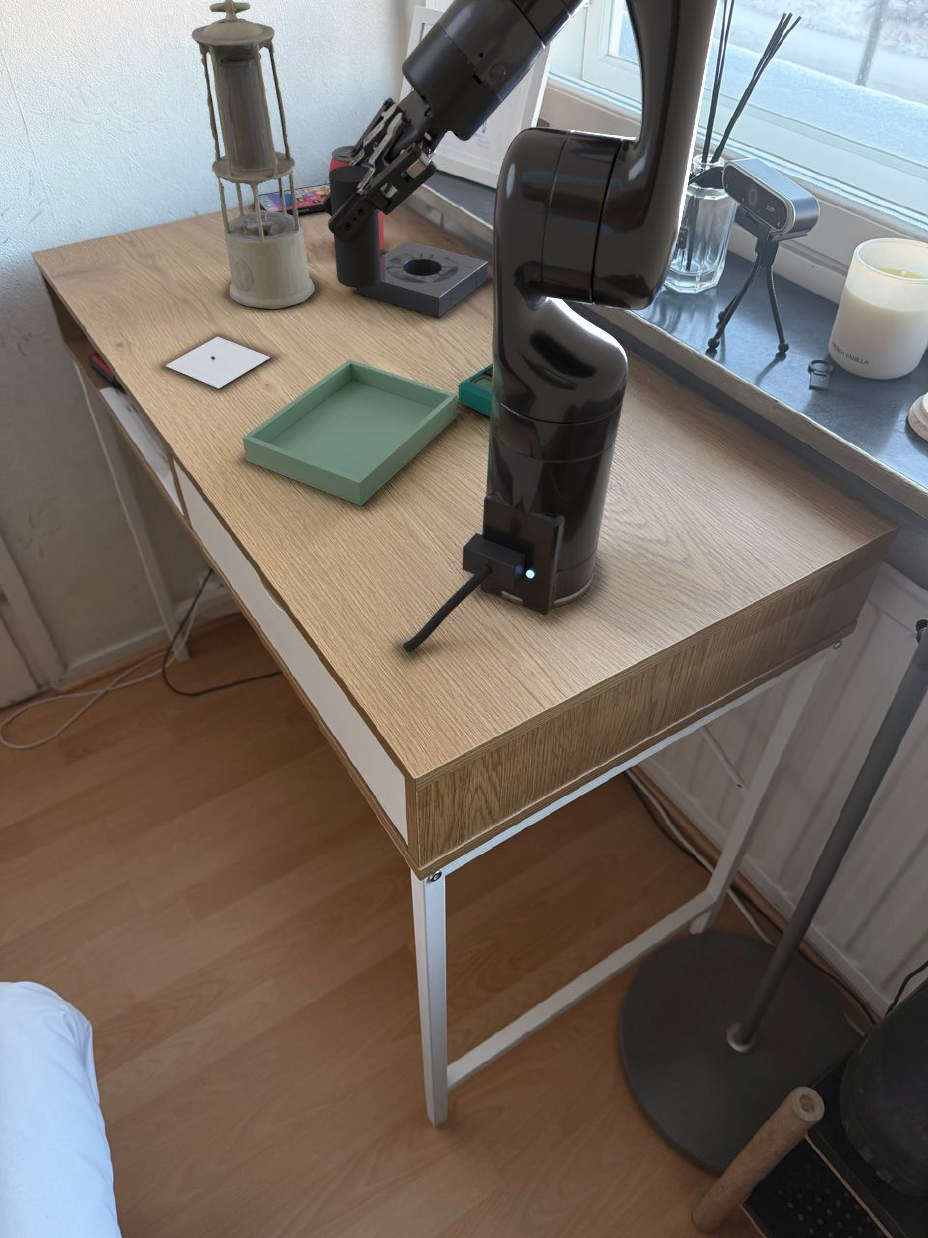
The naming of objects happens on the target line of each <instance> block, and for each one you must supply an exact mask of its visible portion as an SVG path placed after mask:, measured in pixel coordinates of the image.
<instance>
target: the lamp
mask: <svg viewBox="0 0 928 1238" xmlns="http://www.w3.org/2000/svg"><path fill="white" fill-rule="evenodd" d="M250 9H251V4H250V3H249V2H246V1H245V2H239V1H237V2H236V1H234V0H224V1H223V2H215V3H212V4H210V5H209V10H210V12H211V13H225V14H226V15H225V17H224V18H222V19H218V20H215V21H213V22H211V23H210V24H206V25H203V26H199V27H197V28H194V29H193V30H192V32H191V38H192V40H194V41H195V43H197V45H198V49H199V53H200V55H201V57H202V58H201V60H200V61H201V64H202V65H203V71H204V72H203V73H204V78H205V79H204V80H205V84H206V92H207V95H206V97H207V98H206V102H207V103H206V105H207V107H208V114H209V125H210V131H211V136H212V138H213V141H214V151H215V152H214V159H215V160H214V162H213V163H212V164H211V171H212V172H213V173H214V174H215V176H216V178H217V183H218V190H219V200H220V210H221V214H222V215H221V216H222V221H223V228H224V229H223V232H224V239H225V244H226V245H225V246H226V250H227V258H228V263H229V264H228V265H229V271H230V277H231V283H230V285H229V296H230V298H231V299H232V300H234V301H235V302H237V303H238V304H240V305H243V306H246V307H250V308H259V309H270V310H277V309H284V308H286V307H290V306H295V305H297V304H300V303H302V302H305V301H306V300H308V298H310V297H311V296H312V295H313V293H314V291H315V290H316V287H315V285H314V281H313V280H312V277H311V276H310V273H309V264H308V258H307V253H306V252H307V251H306V245H305V239H304V228H303V224H302V221H301V220H300V218H299V214H298V211H297V203H296V195H295V189H296V188H295V181H294V175H293V173H294V169H295V167H296V160H295V159H294V158H293V157H292V156H291V151H290V146H289V143H288V133H287V124H286V123H287V122H286V115H285V109H284V108H285V107H284V103H283V102H284V101H283V96H282V92H281V89H280V85H279V84H280V83H279V78H278V74H277V68H276V60H275V55H274V53H275V48H274V43H273V39H274V37H275V33H276V32H275V29H274V28H273V27H272V26H269V25H266V24H262V23H258V22H254V21H249V20H247V19H245V18H238V16H237V14H239V13H242V12H245V11H249V10H250ZM263 48H265V49H267V51H268V55H269V60H270V65H271V71H272V78H273V82H274V88H275V94H276V100H277V107H278V112H279V118H280V126H281V132H282V140H283V145H284V153H283V152H281V151H276V149H275V144H274V139H273V134H272V133H273V132H272V124H271V119H270V112H269V106H268V100H267V95H266V86H265V81H264V77H263V68H262V67H263V66H262V62H261V60H262V54H261V53H260V51H261V49H263ZM207 54H209V56H210V61H211V67H212V73H213V83H214V92H215V98H216V104H217V112H218V119H219V125H220V131H221V136H222V142H223V147H224V148H223V149H224V155H223V156H221V150H220V143H219V142H220V141H219V135H218V128H217V121H216V115H215V114H216V113H215V108H214V100H213V96H212V91H211V83H210V82H211V81H210V74H209V68H208V56H207ZM283 177H288V182H289V190H290V191H291V199H292V209H293V215H289V214H287V213H286V208H285V197H284V191H285V190H284V184H283V183H284V182H283V179H282V178H283ZM221 179H223V180H225V181H228V182H229V183H232V184H234V185H235V189H236V195H237V196H236V197H237V203H238V208H239V209H238V210H239V215H238V216H236V217H234V218H232V219H230V220H229V217H228V216H229V215H228V210H227V209H228V208H227V204H226V197H225V185H223V182H222V181H221ZM271 180H275V181H276V180H277V182H278V183H277V184H278V192H279V191H280V198H281V207H282V212H273V211H265V210H260V204H259V196H258V195H259V188H258V186H259V184H260V185H261V184H263V183H265V182H269V181H271ZM241 184H244V185H249V186H250V188H251V191H252V195H253V202H254V201H255V203H254V207H255V211H253V212H248V213H245V212H244V204H243V203H244V201H243V195H242V194H243V193H242V189H241Z"/></svg>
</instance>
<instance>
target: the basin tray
mask: <svg viewBox="0 0 928 1238" xmlns="http://www.w3.org/2000/svg"><path fill="white" fill-rule="evenodd" d="M457 417H458V394H456V393H453V392H450V391H447V390H444V389H440V388H438V387H435V386H432V385H429V384H425V383H422V382H420V381H416V380H413V379H411V378H408V377H404V376H401V375H398V374H396V373H393V372H389V371H386V370H383V369H380V368H377V367H374V366H371V365H368V364H365V363H362V362H359V361H357V360H353V359H347V360H346V361H345V362H343V363H342V364H341V365H339V366H337V367H336V368H335V369H334V370H332V371H331V372H330V373H329V374H327V375H325V376H324V377H323V378H321V379H320V380H319V381H318V382H316V383H315V384H314V385H312V386H311V387H310V388H308V389H307V390H306V391H304V392H303V393H301V394H300V395H299V396H297V397H296V398H295V399H293V400H292V401H291V402H289V403H288V404H287V405H285V406H284V407H282V408H281V409H280V410H278V411H277V412H276V413H274V414H273V415H272V416H270V417H269V418H268V419H266V420H265V421H264V422H262V423H261V424H260V425H258V426H257V427H255V428H254V429H253V430H251V431H250V432H249V433H247V434H246V435H245V436H243V437H242V443H243V447H244V454H245V460H246V461H247V462H248V463H250V464H254V465H256V466H259V467H261V468H263V469H266V470H269V471H271V472H274V473H277V474H279V475H282V476H283V477H287V478H289V479H291V480H294V481H297V482H299V483H301V484H304V485H306V486H309V487H312V488H314V489H317V490H319V491H322V492H324V493H327V494H329V495H332V496H334V497H337V498H340V499H343V500H344V501H347V502H350V503H352V504H355V505H357V506H360V507H362V506H364V504H366V503H367V502H368V501H369V500H370V499H371V498H372V497H373V496H374V495H375V494H376V493H377V492H378V491H380V489H382V487H384V486H385V485H386V484H387V483H388V482H389V481H390V480H391V479H392V478H393V477H394V476H396V474H397V473H399V472H400V471H401V470H402V469H403V468H404V467H405V466H406V465H407V464H408V463H409V462H411V460H413V459H414V458H415V457H416V456H417V455H418V454H419V453H420V452H421V451H423V449H424V448H425V447H427V445H429V444H430V443H431V442H432V441H433V440H434V439H435V438H436V437H437V436H439V435H440V433H441V432H443V431H444V430H445V429H446V428H447V427H448V426H449V425H450V424H451V423H452V422H453V421H454V420H455V419H457Z"/></svg>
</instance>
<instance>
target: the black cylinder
mask: <svg viewBox="0 0 928 1238" xmlns="http://www.w3.org/2000/svg"><path fill="white" fill-rule="evenodd" d="M369 169H370V168H367V167H363V166H343V167H339V168H335V169H333V170H332V171H330V173H329V172H328V180H329V183H330V194H331V207H332V216H333V215H334V214H335V212H336V211H337V210H338V209H339V208H340V206H341V205H342V204H343V203H344V202H345V201H346V199H347V198H348V197H349V196H350V195H351V193H352V192H353V191H356V188H357V185H358V184H359V183H360V182H361V181H362V179H363V178H364V176H365V175H366V174H367V172H368V171H369ZM374 211H375V210H374ZM333 242H334V243H333V244H334V254H335V266H336V267H335V268H336V280H337V282H338V283H339V284H340V285H342V286H344V287H348V288H352V289H356V288H366V287H371V286H374V285H376V284H378V283H379V282H380V281H381V261H380V257H381V251H380V238H379V215H378V213H377V212H376V211H375V212H374V213H373V215H372V216H371V217H370V218H369V219H368V220H367V221H366V223H365V224H364V225H363V226H362V227H361V228H360V229H359V231H358V232H357V233H356V234H355V235H354V236H353V238H352V239H351V240H350V241H349V242H347V243H344V242H342V241H341V240H340V239H339V238H338V237H336V236H335V235H334V234H333Z"/></svg>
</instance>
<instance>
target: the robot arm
mask: <svg viewBox="0 0 928 1238" xmlns="http://www.w3.org/2000/svg"><path fill="white" fill-rule="evenodd" d="M587 1H588V0H453V1H452V3H450V5H449V6H448V7H447V9H446V10H445V11H444V13H442V14H441V16H440V17H439V18H438V20H437V21H436V22H435V24H433V26H431V28H430V29H429V31H427V33H426V34H425V36H424V37H423V38H422V39H421V40H420V41H419V43H418V44H417V45H416V47H415V48H414V49H413V50H412V52H411V53H410V54H409V55H408V56H407V58H406V59H405V60H404V62H403V63H402V64H401V72H402V76H403V77H404V78H405V80H406V81H407V82H408V84H409V85H410V86H411V88H413V89H412V90H411V91H410V92H409V93H408V94H407V95H405V97H403V98H402V99H401V100H400V102H399V103H397V102H396V101H395V100H394V99H393V98H392V97H391V96H390V97H388V98H387V99H385V100H384V101H383V103H382V105H381V107H380V108H379V110H378V111H377V113H376V114H375V116H374V117H373V118H372V120H371V122H369V124H368V126H367V127H366V129H365V130H364V132H363V133H362V135H361V136H360V137H359V139H358V140H357V142H356V144H355V145H354V146H355V147H353V149H352V150H351V153H350V157H351V158H352V160H351V161H350V162H349V165H348V166H363V167H367V168H370V169H369V171H368V172H367V174H366V175H365V176H364V178H363V179H362V181H361V182H360V183H359V184H358V185H357V188H356V191H353V192H352V193H351V195H350V196H349V197H348V198H347V199H346V201H345V202H344V203H343V204H342V205H341V206H340V208H339V209H338V210H337V211H336V212H335V214H334V215H333V216H332V207H331V194H330V193H329V194H328V195H327V196H326V198H325V199H324V200H323V202H322V204H323V208H324V210H323V211H324V212H326V214H328V215H329V216H330V218H329V219H328V221H327V226H328V230H329V231H330V232H331V233H332V235H333V236H334V235H335V236H336V237H338V238H339V239H340V240H341V241H342V242H344V243H347V242H349V241H350V240H351V239H352V238H353V236H354V235H355V234H356V233H357V232H358V231H359V229H360V228H361V227H362V226H363V225H364V224H365V223H366V221H367V220H368V219H369V218H370V217H371V216H372V215H373V213H374V212H375V211H376V212H377V213H379V212H381V211H382V212H383V215H385V216H388V215H389V214H391V213H392V212H393V211H394V210H395V209H397V207H398V206H400V205H401V204H402V203H403V202H404V201H405V200H407V198H408V197H410V196H411V195H412V194H413V193H414V192H416V191H417V190H418V189H419V188H420V187H421V186H423V185H424V184H425V183H426V182H427V181H428V180H429V179H430V178H432V177H433V176H434V174H435V173H436V172H437V169H438V165H437V164H436V163H435V162H434V161H433V160H432V159H433V157H434V155H435V154H436V150H437V148H438V147H439V145H440V143H441V141H442V140H443V138H444V137H445V136H446V134H447V133H448V132H452V134H453V135H454V136H455V137H456V138H457V139H458V140H460V141H462V142H468V141H469V140H471V138H473V136H474V135H475V134H476V132H477V131H478V130H479V129H480V128H481V127H482V126H483V125H484V124H485V122H486V121H487V120H489V118H490V117H491V116H492V114H494V112H495V111H496V110H497V109H498V108H499V107H500V105H501V104H502V103H503V102H505V100H506V99H507V98H508V96H510V94H511V93H512V92H513V91H514V90H515V89H516V88H517V87H518V85H520V83H521V82H522V81H523V80H524V78H525V77H526V76H527V74H528V73H529V72H530V70H531V69H532V68H533V66H534V64H535V63H536V62H537V60H538V59H539V57H540V56H541V54H542V53H543V52H544V51H545V49H546V47H548V46H549V45H550V44H551V43H552V42H553V40H554V39H556V37H557V36H558V35H559V33H560V32H561V31H562V30H563V29H564V28H565V26H567V25H568V23H569V22H570V21H571V19H572V18H573V19H574V16H575V15H576V14H578V12H579V11H580V10H581V9H582V8H583V6H584V5H585V4H586V2H587ZM624 2H625V7H626V10H627V14H628V18H629V22H630V26H631V30H632V37H633V40H634V45H635V49H636V57H637V61H638V62H637V63H638V68H639V81H640V97H641V101H640V102H641V106H640V107H641V109H640V110H641V111H640V126H639V132H638V136H637V137H629V136H627V137H625V136H621V135H614V134H613V135H612V134H604V133H597V132H589V131H582V130H575V129H566V128H557V127H549V126H548V127H547V126H530V127H527V128H525V129H522V131H520V132H519V133H517V134H516V136H515V137H514V138H513V139H512V141H511V142H510V144H509V145H508V147H507V149H506V152H505V154H504V157H503V160H502V162H501V165H500V169H499V172H498V178H497V182H496V187H495V188H496V189H495V195H494V197H495V198H494V206H493V216H492V217H493V221H492V226H493V227H492V277H493V280H492V282H493V283H492V284H493V289H492V290H493V296H492V297H493V299H492V301H493V302H492V305H493V307H492V309H493V310H492V311H493V312H492V315H493V316H492V341H491V342H492V344H491V356H492V363H493V379H492V399H491V417H489V431H488V432H489V435H488V450H487V451H488V453H487V470H486V471H487V473H486V488H485V489H486V491H485V496H484V499H483V510H482V512H483V513H482V528H481V529H482V530H481V533H479V532H475V533H474V534H473V535H472V536H471V537H470V539H468V541H467V542H466V543H465V544H464V545H463V547H462V568H461V569H462V571H464V572H468V573H470V574H471V575H472V577H471V578H469V579H468V580H467V581H466V582H465V583H464V584H463V585H462V586H461V587H460V588H459V589H458V590H457V591H456V592H455V593H454V594H453V595H452V596H451V597H450V598H449V599H447V601H445V603H444V604H443V605H442V606H441V607H440V608H439V609H438V610H437V611H436V612H435V613H434V614H433V615H432V616H431V617H430V619H429V620H428V621H427V622H426V623H425V625H423V627H422V628H421V629H420V630H419V631H418V632H417V633H416V634H415V635H413V637H411V638H410V639H409V640H408V641H406V642H404V643H403V644H402V646H403V649H404V650H405V652H407V653H411V652H413V651H415V650H416V649H418V648H419V647H420V646H421V645H422V644H423V643H424V642H425V641H427V640H428V639H429V637H430V636H431V635H432V634H433V633H434V632H435V630H436V629H437V628H438V627H439V626H440V625H441V624H442V623H443V622H444V620H445V619H446V618H448V616H449V615H450V614H451V613H452V612H454V610H455V609H456V608H457V607H458V606H460V604H461V603H462V602H464V600H465V599H466V598H467V597H468V596H469V595H470V594H472V593H473V592H474V591H475V590H476V589H477V588H478V587H479V589H480V590H482V591H484V592H488V593H490V594H492V595H493V596H496V597H498V598H501V599H504V600H505V601H508V602H510V603H513V604H514V605H518V606H520V607H523V608H526V609H527V610H531V611H532V612H535V613H538V614H540V615H543V616H547V615H548V614H550V612H551V610H553V609H554V608H557V607H561V606H565V605H568V604H570V603H572V602H575V601H576V600H578V599H579V598H581V597H582V596H583V595H584V594H586V593H587V591H589V588H590V587H591V585H592V583H593V580H594V574H595V568H596V567H595V563H596V557H597V552H598V545H599V540H600V532H601V527H602V522H603V515H604V511H605V505H606V499H607V493H608V487H609V482H610V475H611V469H612V464H613V459H614V454H615V447H616V442H617V437H618V431H619V427H620V426H619V425H620V421H621V415H622V409H623V403H624V398H625V395H626V388H627V382H628V377H629V361H628V356H627V353H626V351H625V350H624V348H623V347H622V345H621V344H620V343H619V342H618V340H617V339H615V337H613V336H612V335H611V333H608V332H607V331H605V330H604V329H602V328H601V327H599V326H597V325H595V324H594V323H592V322H591V321H590V320H587V319H586V318H584V317H583V316H582V315H580V314H579V313H578V312H576V311H575V310H574V309H572V307H570V305H568V303H566V301H567V302H573V303H574V302H575V303H580V304H584V305H585V304H586V305H595V306H600V307H604V308H611V309H617V310H624V311H636V312H637V311H643V310H645V309H647V308H649V307H650V306H651V305H652V304H653V303H654V302H656V300H657V298H658V297H659V295H660V294H661V291H662V290H663V287H664V285H665V282H666V281H667V279H668V275H669V272H670V270H671V266H672V262H673V258H674V255H675V251H676V247H677V243H678V238H679V233H680V228H681V223H682V218H683V214H684V213H683V212H684V207H685V202H686V196H687V190H688V184H689V179H690V178H689V177H690V172H691V165H692V160H693V154H694V149H695V148H694V147H695V143H696V142H695V141H696V135H697V129H698V122H699V117H700V111H701V106H702V99H703V93H704V88H705V81H706V75H707V69H708V65H709V64H708V63H709V57H710V52H711V46H712V40H713V34H714V29H715V23H716V19H717V14H718V13H717V12H718V8H719V3H720V0H624ZM385 185H386V187H385V188H384V189H383V187H384V186H385ZM381 188H382V189H381ZM374 210H375V211H374Z"/></svg>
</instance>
